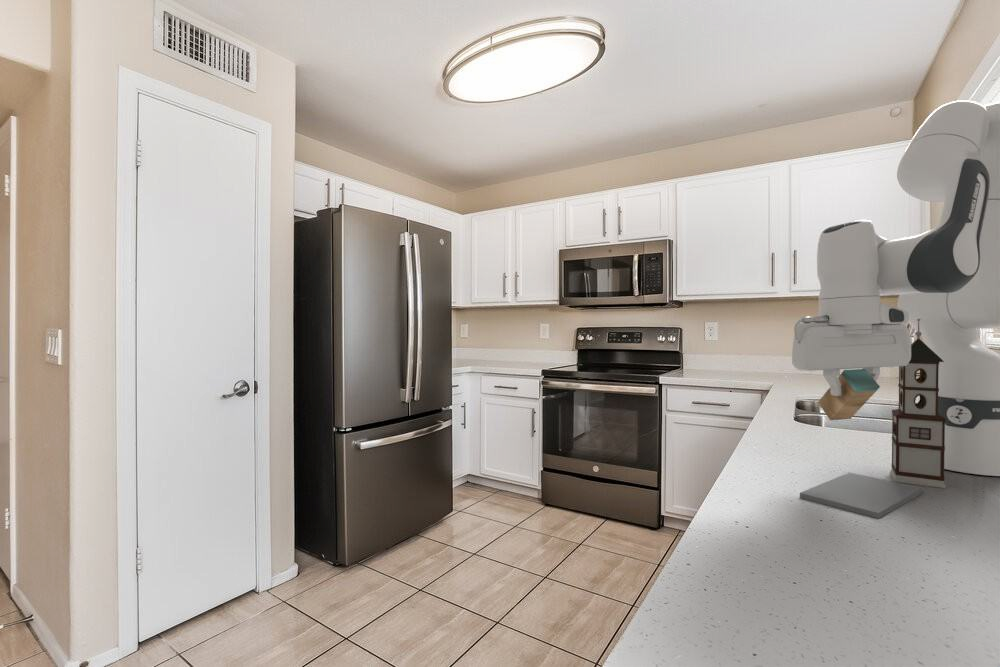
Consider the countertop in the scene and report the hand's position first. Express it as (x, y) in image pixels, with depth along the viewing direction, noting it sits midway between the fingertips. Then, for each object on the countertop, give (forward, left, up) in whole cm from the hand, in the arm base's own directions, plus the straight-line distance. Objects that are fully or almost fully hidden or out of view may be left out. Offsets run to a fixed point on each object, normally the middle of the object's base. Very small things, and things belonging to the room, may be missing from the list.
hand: (852, 394), depth 87 cm
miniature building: (-17, +4, -17) cm, 24 cm away
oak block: (-2, -4, -3) cm, 5 cm away
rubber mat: (+1, +2, -17) cm, 17 cm away
